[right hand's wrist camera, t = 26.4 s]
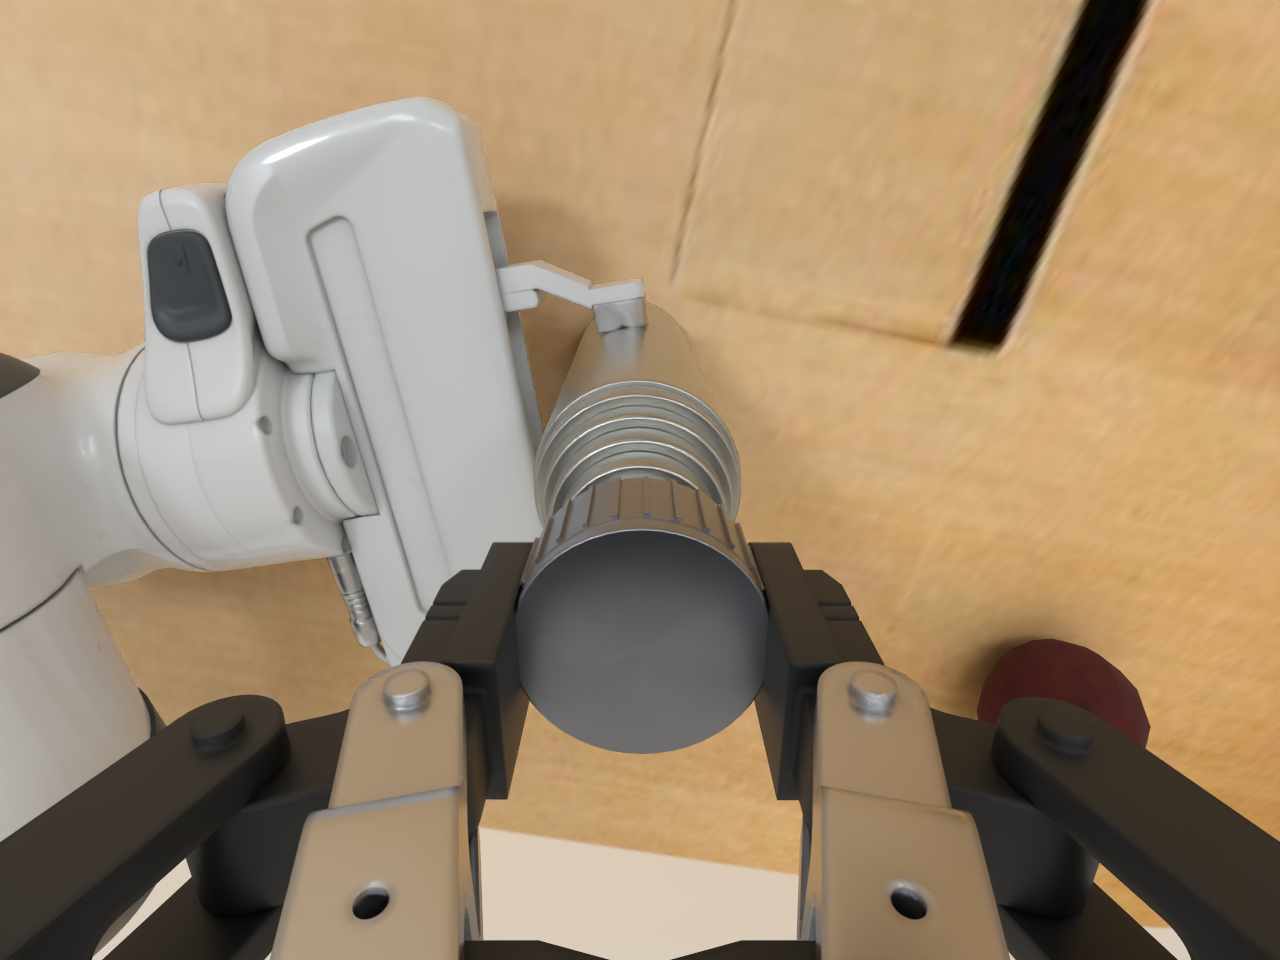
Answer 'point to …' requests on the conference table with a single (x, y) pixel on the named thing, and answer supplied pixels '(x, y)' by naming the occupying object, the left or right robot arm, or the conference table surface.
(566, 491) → the bottle
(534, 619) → the cap
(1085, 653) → the potato
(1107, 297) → the conference table surface
